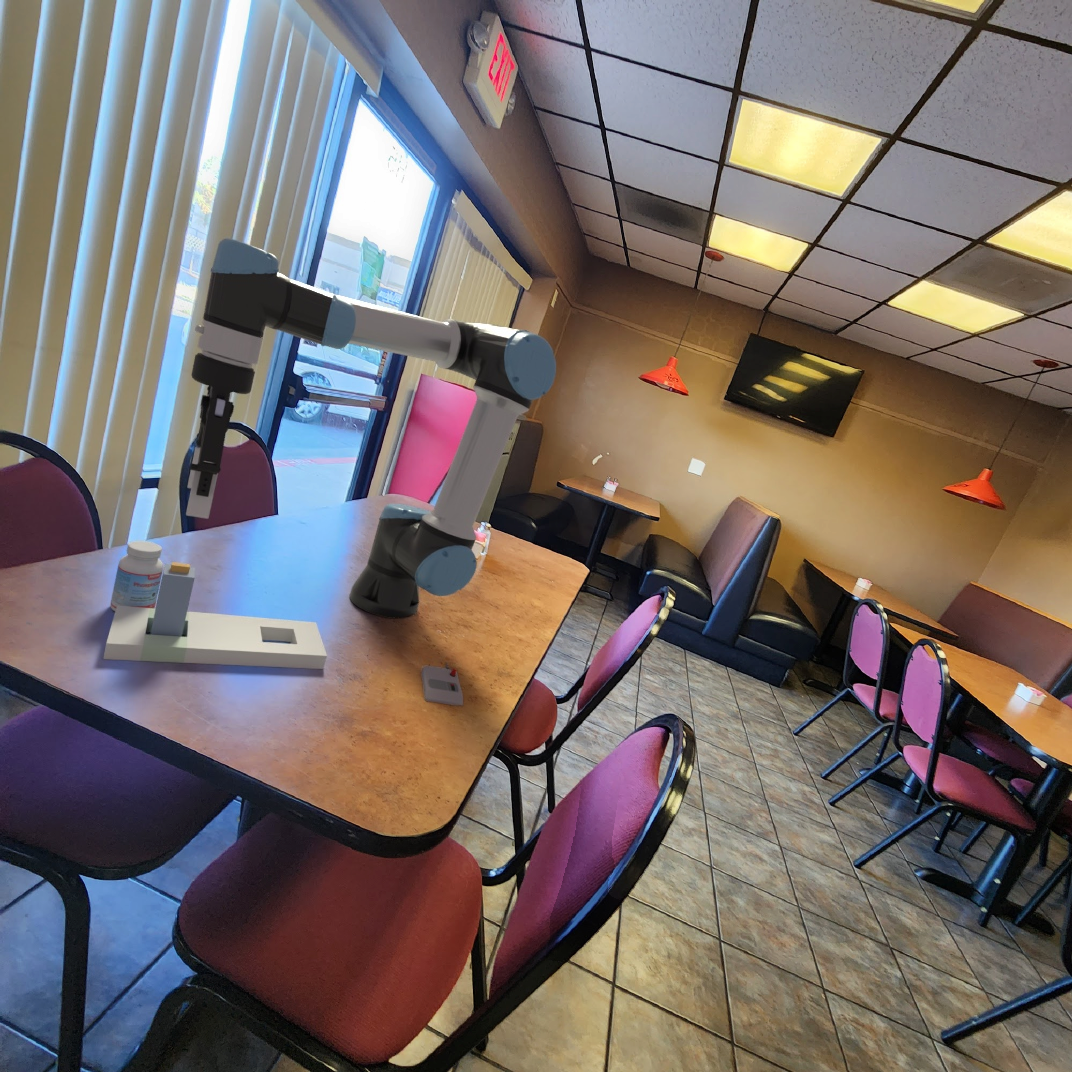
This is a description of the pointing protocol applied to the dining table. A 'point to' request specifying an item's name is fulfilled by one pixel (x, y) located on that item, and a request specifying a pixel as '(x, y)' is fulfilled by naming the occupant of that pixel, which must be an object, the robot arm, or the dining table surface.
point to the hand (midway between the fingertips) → (197, 501)
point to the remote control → (441, 685)
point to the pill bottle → (138, 576)
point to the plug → (173, 599)
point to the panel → (216, 640)
